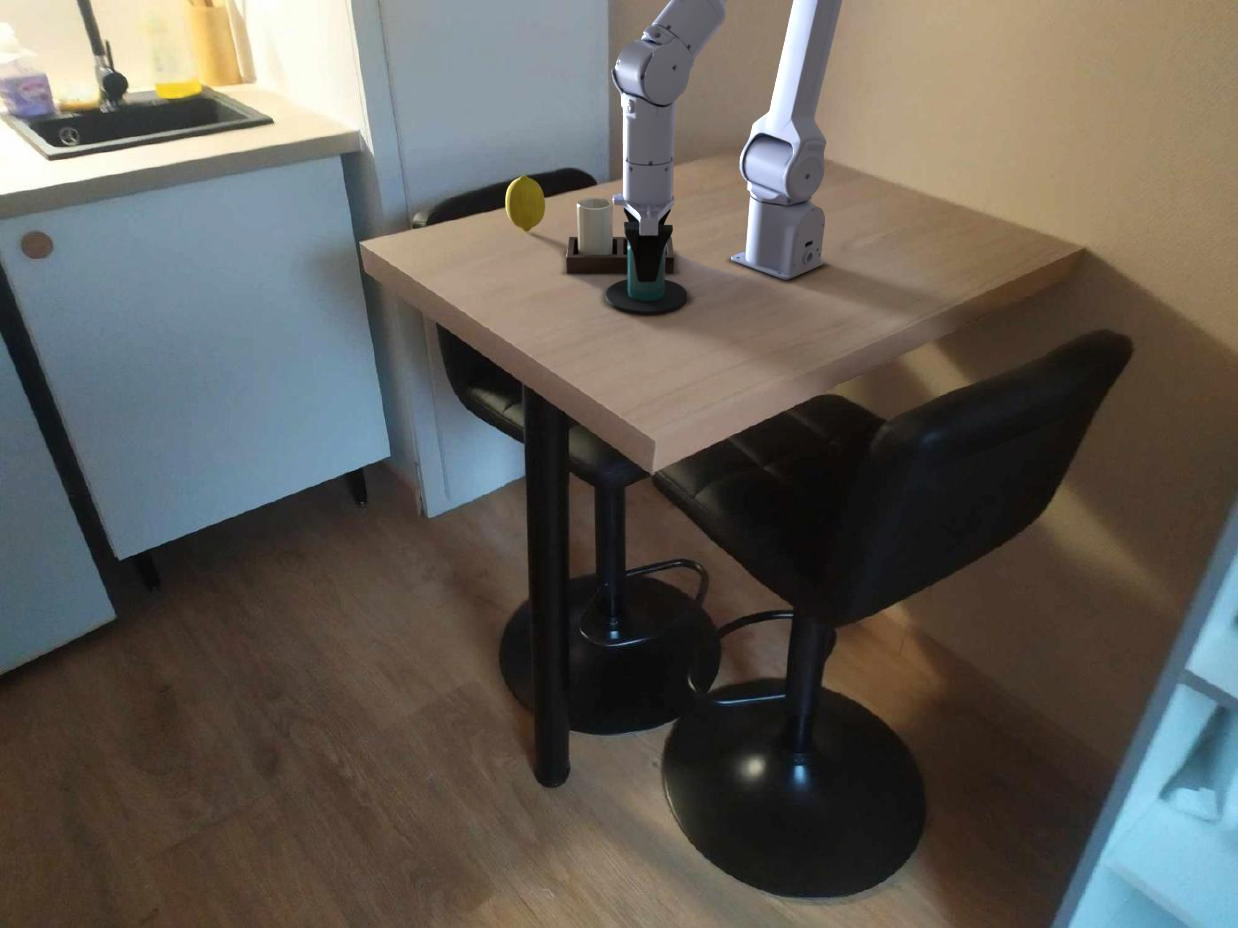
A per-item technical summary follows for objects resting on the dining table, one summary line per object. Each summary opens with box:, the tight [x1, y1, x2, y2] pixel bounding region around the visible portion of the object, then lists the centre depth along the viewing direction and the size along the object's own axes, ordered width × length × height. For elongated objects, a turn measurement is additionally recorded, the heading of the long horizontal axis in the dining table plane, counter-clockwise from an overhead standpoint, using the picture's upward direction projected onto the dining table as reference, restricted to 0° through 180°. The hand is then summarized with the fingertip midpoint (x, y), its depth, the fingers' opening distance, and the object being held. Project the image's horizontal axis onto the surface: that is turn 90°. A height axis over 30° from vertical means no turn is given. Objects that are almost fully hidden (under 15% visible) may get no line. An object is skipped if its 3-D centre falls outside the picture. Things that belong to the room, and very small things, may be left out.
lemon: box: [505, 174, 546, 233], centre depth 130 cm, size 6×6×8 cm
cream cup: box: [576, 197, 614, 255], centre depth 120 cm, size 4×4×8 cm
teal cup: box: [627, 241, 666, 301], centre depth 111 cm, size 4×4×8 cm
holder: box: [565, 236, 675, 274], centre depth 122 cm, size 7×14×2 cm, turn 90°
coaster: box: [605, 278, 688, 316], centre depth 113 cm, size 10×10×1 cm
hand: (646, 272), depth 111 cm, fingers closed on teal cup, 4 cm apart
